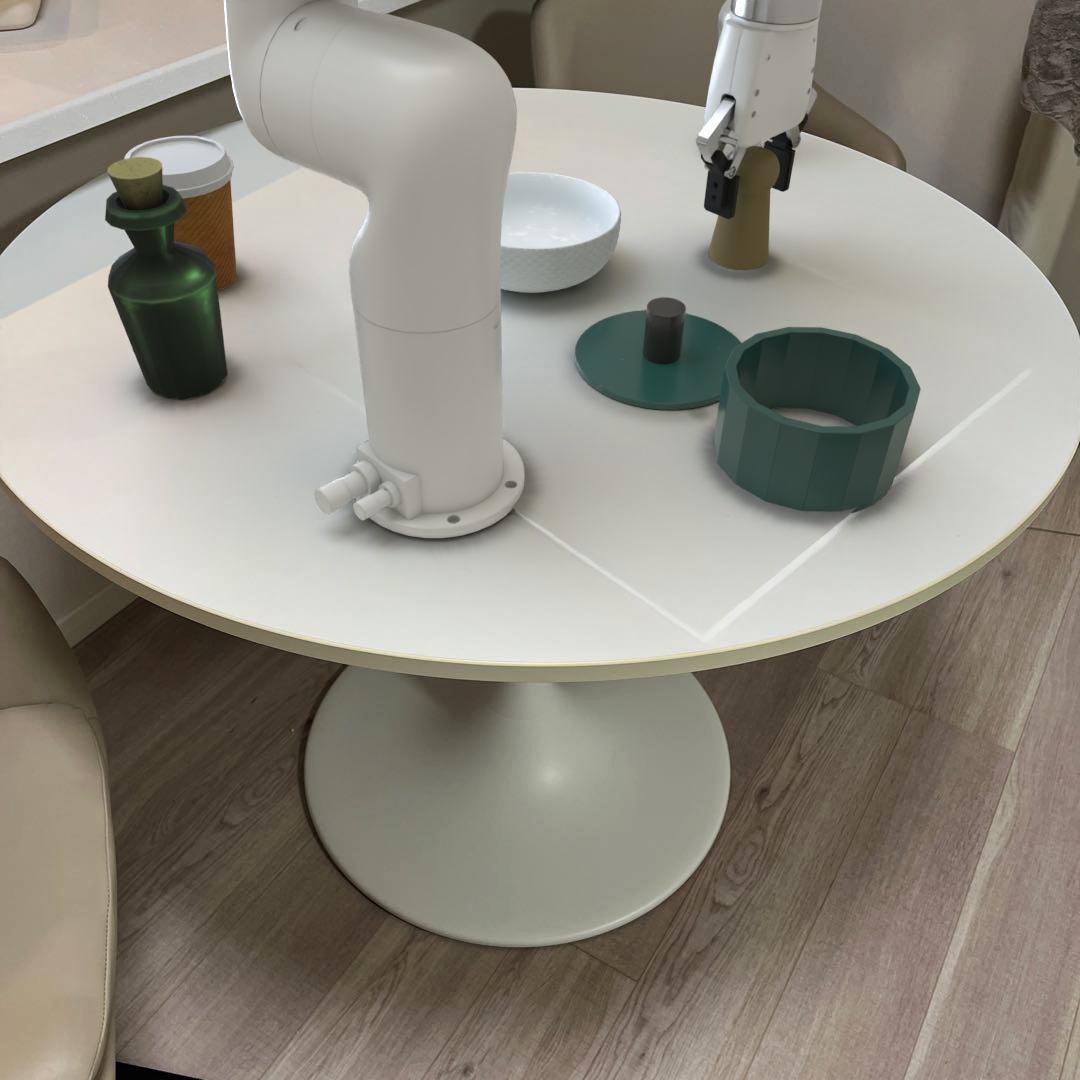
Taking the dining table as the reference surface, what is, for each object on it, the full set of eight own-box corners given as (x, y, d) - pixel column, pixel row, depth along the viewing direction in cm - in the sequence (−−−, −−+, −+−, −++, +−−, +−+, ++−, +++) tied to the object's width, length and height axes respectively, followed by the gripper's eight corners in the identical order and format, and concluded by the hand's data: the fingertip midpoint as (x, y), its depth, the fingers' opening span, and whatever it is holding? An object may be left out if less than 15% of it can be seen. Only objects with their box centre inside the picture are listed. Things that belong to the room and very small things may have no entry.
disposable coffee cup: (268, 287, 99) (246, 162, 91) (168, 313, 95) (136, 185, 87) (234, 247, 105) (210, 126, 97) (138, 270, 101) (105, 146, 93)
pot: (827, 543, 74) (850, 458, 69) (677, 457, 81) (688, 374, 76) (927, 460, 81) (955, 377, 76) (781, 387, 88) (797, 308, 83)
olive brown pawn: (766, 278, 102) (786, 167, 94) (704, 272, 103) (718, 161, 95) (769, 250, 106) (788, 141, 99) (709, 243, 107) (723, 135, 100)
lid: (671, 439, 82) (678, 377, 79) (538, 364, 90) (539, 305, 86) (781, 367, 90) (793, 308, 86) (651, 304, 98) (656, 247, 94)
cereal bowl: (653, 284, 101) (659, 213, 96) (515, 340, 93) (515, 267, 88) (541, 220, 110) (542, 154, 106) (408, 267, 103) (403, 197, 98)
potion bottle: (249, 392, 86) (205, 179, 74) (148, 417, 84) (85, 200, 72) (224, 344, 92) (179, 138, 80) (128, 366, 89) (67, 156, 77)
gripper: (799, -29, 95) (768, 162, 107) (675, 10, 86) (656, 215, 97) (871, -11, 91) (831, 185, 103) (750, 32, 82) (721, 242, 94)
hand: (746, 199), depth 100 cm, fingers open, 7 cm apart
